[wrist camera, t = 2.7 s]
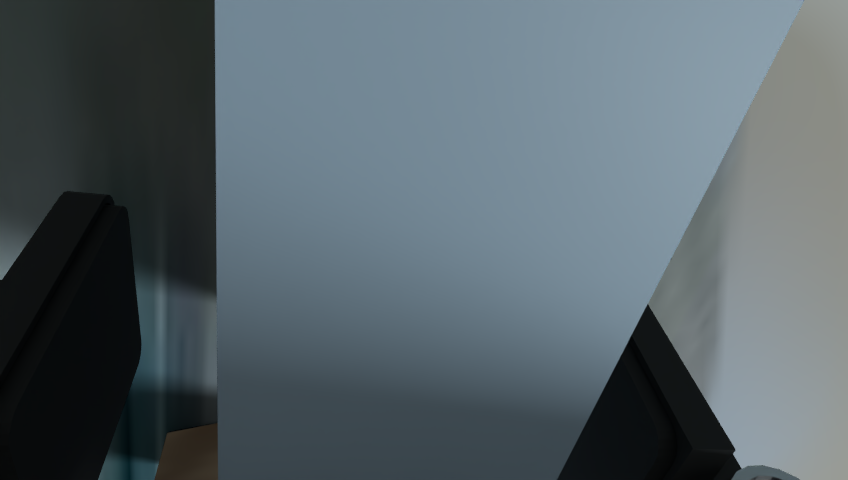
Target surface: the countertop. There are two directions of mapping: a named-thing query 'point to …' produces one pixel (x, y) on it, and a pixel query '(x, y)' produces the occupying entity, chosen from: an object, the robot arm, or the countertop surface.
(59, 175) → the countertop surface
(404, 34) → the light blue flat board
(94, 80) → the countertop surface
